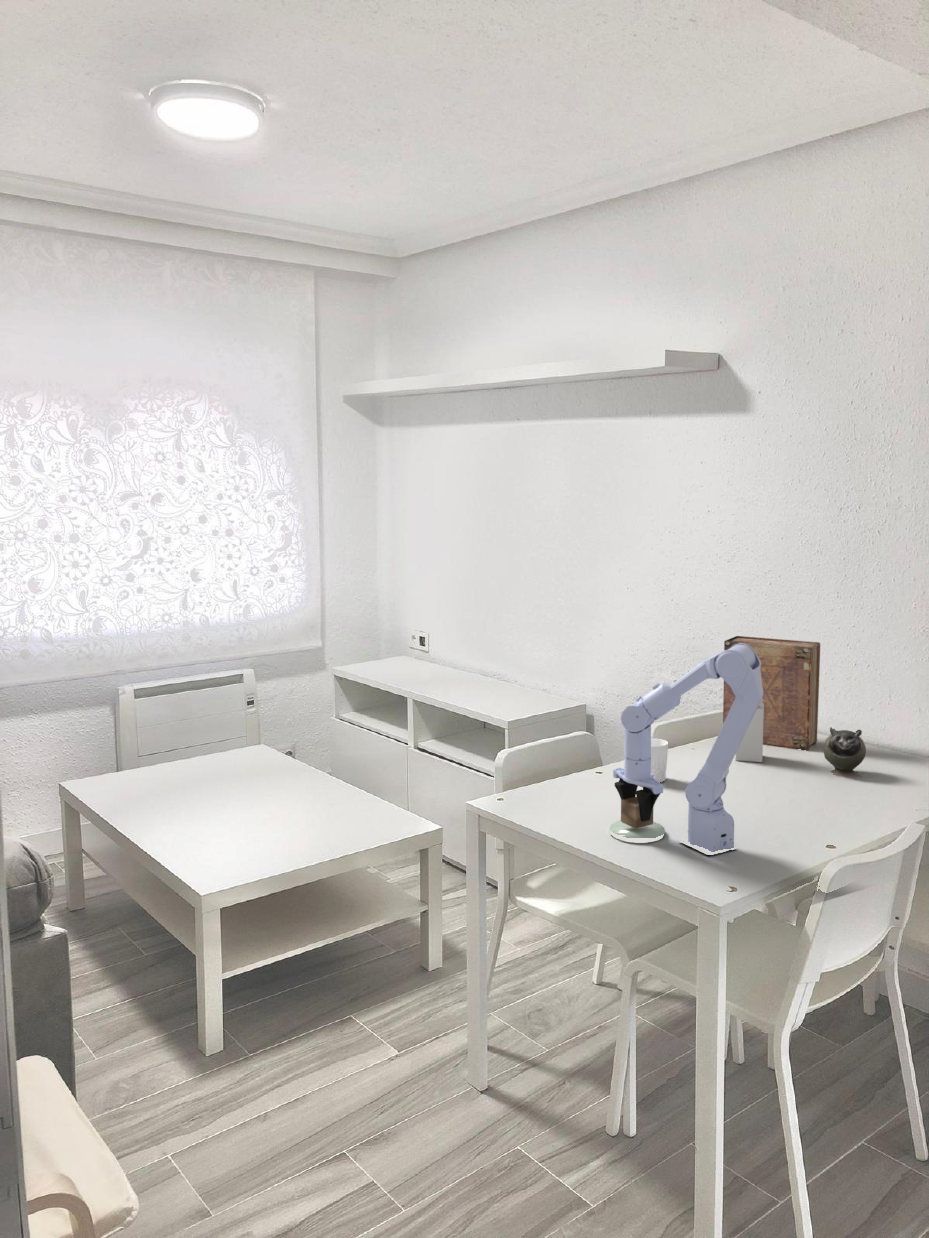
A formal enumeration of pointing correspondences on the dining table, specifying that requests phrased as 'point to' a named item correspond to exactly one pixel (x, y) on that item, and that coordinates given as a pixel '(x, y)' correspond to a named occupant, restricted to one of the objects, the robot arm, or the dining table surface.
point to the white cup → (659, 759)
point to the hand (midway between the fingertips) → (637, 816)
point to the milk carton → (753, 738)
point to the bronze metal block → (633, 813)
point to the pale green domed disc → (637, 830)
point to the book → (785, 690)
